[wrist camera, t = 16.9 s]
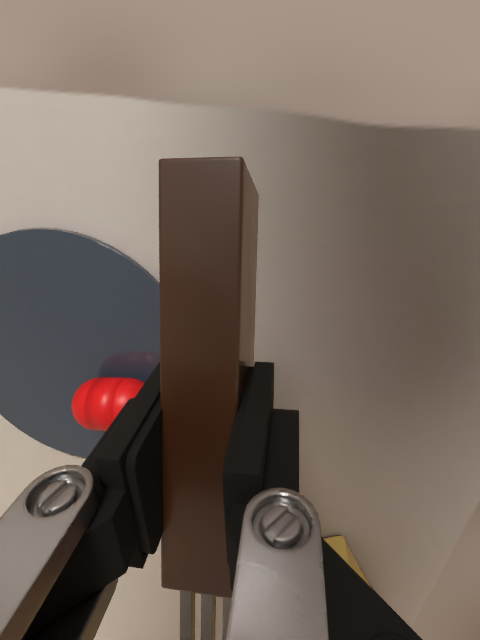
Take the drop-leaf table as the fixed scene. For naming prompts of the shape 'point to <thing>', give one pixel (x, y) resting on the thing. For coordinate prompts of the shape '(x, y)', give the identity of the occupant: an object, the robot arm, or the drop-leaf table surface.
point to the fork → (202, 366)
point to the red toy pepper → (102, 400)
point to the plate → (69, 329)
